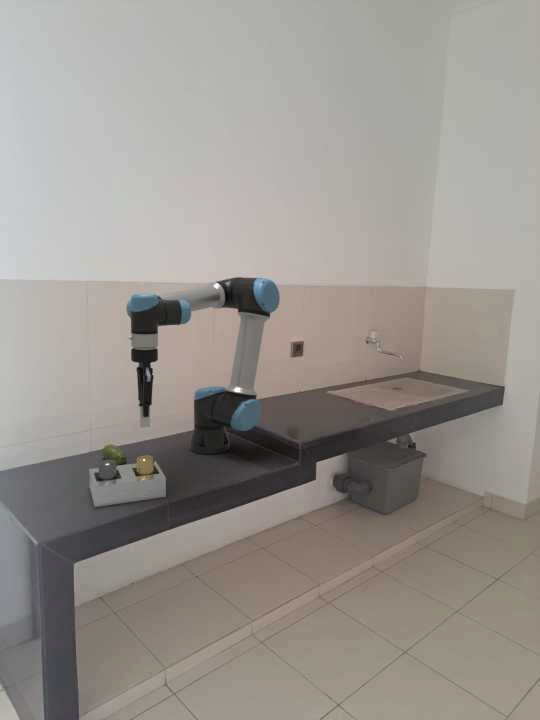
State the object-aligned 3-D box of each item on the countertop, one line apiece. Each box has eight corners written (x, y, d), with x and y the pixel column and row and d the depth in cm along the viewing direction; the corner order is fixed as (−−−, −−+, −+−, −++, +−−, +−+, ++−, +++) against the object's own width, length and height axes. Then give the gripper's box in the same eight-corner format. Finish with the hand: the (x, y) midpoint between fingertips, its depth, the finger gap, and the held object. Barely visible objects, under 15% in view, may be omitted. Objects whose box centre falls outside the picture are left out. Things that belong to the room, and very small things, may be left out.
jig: (155, 479, 167) (155, 449, 165) (165, 496, 154) (165, 464, 153) (89, 487, 159) (88, 456, 157) (94, 507, 146) (93, 473, 145)
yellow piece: (152, 485, 162) (152, 454, 160) (155, 491, 158) (155, 460, 156) (135, 487, 160) (135, 456, 158) (138, 494, 156) (138, 462, 154)
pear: (112, 440, 185) (131, 451, 180) (111, 454, 187) (129, 465, 181) (99, 444, 181) (117, 455, 175) (98, 458, 182) (116, 469, 177)
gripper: (127, 344, 156) (128, 421, 160) (135, 351, 144) (136, 434, 148) (153, 344, 159) (153, 419, 163) (162, 350, 147) (162, 431, 151)
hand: (145, 426), depth 155 cm, fingers closed
